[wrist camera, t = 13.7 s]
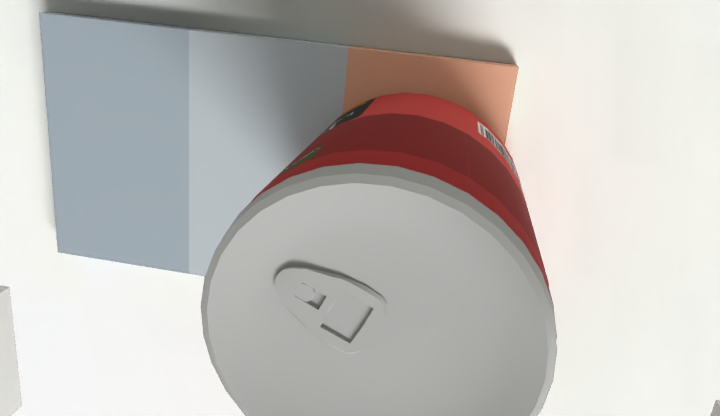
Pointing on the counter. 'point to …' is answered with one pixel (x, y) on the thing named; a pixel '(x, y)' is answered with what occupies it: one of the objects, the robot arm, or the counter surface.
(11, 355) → the robot arm
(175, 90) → the flat rectangular panel
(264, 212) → the canned food
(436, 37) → the counter surface
